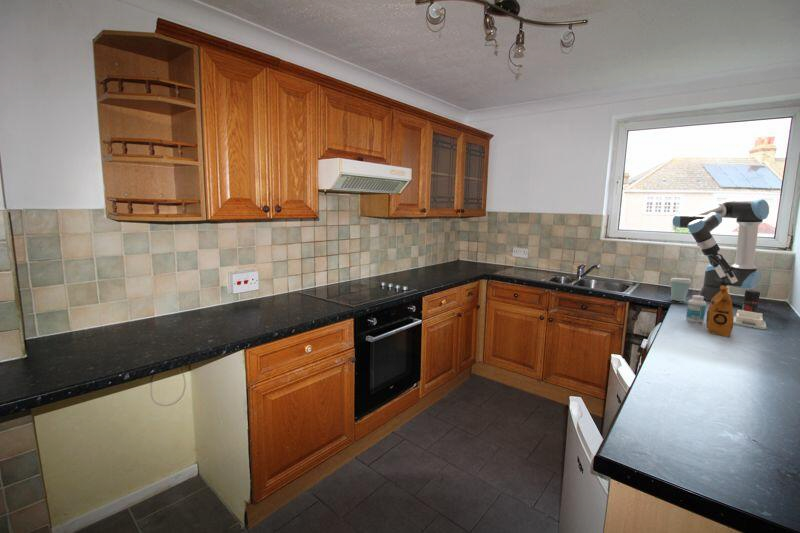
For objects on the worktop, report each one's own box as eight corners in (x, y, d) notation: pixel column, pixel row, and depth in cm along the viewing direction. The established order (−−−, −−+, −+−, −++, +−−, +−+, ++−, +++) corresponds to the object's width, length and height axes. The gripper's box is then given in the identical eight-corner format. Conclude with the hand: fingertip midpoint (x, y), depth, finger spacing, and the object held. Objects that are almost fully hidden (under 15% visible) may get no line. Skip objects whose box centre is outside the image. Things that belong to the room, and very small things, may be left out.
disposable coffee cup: (663, 299, 246) (666, 276, 244) (676, 298, 249) (679, 276, 247) (680, 303, 236) (683, 280, 234) (692, 302, 239) (696, 279, 237)
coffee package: (703, 333, 181) (711, 287, 177) (704, 327, 190) (711, 283, 187) (731, 338, 175) (739, 291, 171) (731, 331, 184) (738, 287, 181)
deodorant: (758, 320, 205) (763, 292, 202) (747, 319, 205) (751, 292, 203) (748, 316, 211) (753, 290, 208) (737, 316, 211) (742, 289, 208)
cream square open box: (731, 318, 207) (733, 309, 206) (764, 323, 198) (766, 313, 198) (731, 323, 197) (732, 314, 196) (766, 329, 188) (767, 319, 187)
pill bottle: (697, 319, 203) (701, 294, 201) (707, 323, 196) (711, 298, 194) (682, 318, 204) (686, 294, 202) (691, 322, 197) (695, 297, 195)
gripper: (692, 246, 223) (711, 277, 222) (710, 253, 199) (732, 287, 199) (706, 239, 220) (725, 271, 220) (726, 245, 197) (748, 281, 196)
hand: (728, 279), depth 209 cm, fingers open, 13 cm apart
